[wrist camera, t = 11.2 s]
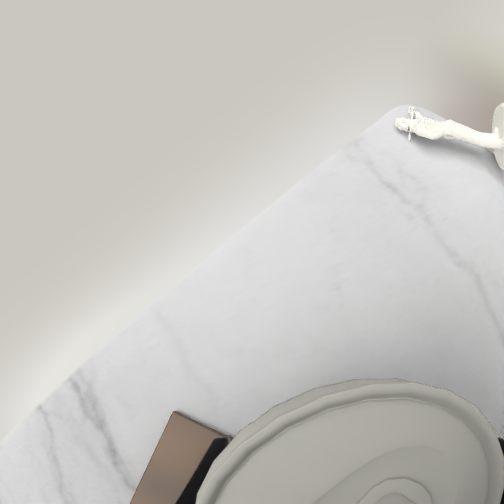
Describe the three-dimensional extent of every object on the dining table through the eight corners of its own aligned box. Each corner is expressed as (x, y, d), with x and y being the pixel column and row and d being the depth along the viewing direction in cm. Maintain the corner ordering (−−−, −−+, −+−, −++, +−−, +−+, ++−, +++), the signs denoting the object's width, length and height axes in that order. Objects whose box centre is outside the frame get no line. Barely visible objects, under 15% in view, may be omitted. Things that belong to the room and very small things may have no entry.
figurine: (523, 111, 13) (393, 95, 19) (515, 187, 18) (397, 175, 23) (496, 95, 18) (390, 85, 24) (494, 157, 22) (396, 148, 28)
